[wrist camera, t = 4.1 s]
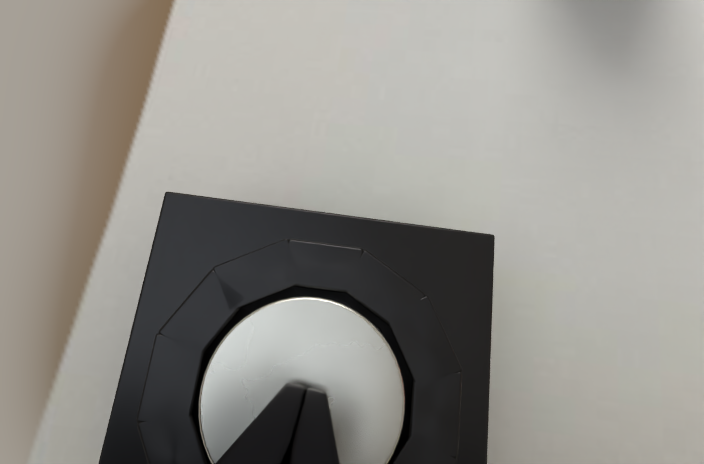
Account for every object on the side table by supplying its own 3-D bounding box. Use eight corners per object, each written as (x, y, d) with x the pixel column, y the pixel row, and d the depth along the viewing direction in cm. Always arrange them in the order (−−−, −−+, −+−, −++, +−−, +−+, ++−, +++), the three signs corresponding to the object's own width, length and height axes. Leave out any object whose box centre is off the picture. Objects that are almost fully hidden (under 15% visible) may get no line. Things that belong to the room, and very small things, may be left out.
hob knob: (380, 488, 11) (395, 529, 9) (209, 468, 11) (176, 504, 8) (396, 315, 12) (414, 309, 10) (241, 296, 12) (219, 284, 10)
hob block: (438, 549, 14) (513, 685, 9) (140, 516, 14) (13, 635, 8) (455, 260, 17) (522, 217, 11) (203, 227, 17) (139, 165, 11)
